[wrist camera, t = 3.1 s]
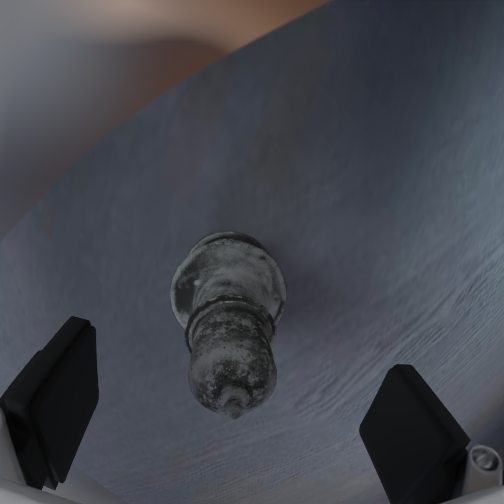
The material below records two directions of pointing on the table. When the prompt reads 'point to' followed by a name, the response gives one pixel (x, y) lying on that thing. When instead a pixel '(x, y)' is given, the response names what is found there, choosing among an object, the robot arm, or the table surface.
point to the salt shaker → (230, 320)
